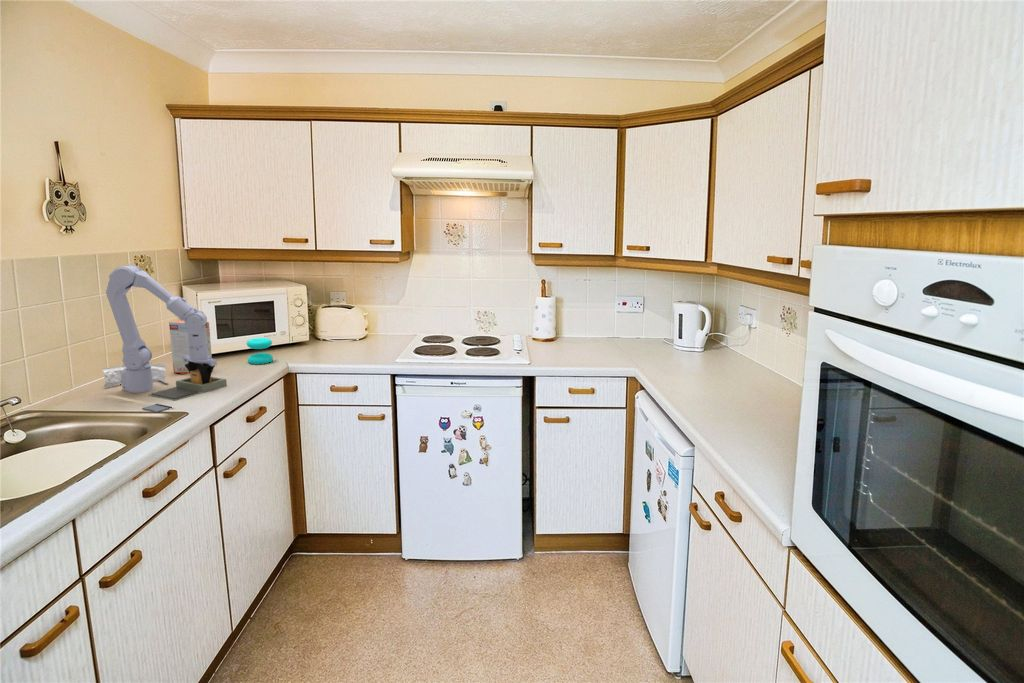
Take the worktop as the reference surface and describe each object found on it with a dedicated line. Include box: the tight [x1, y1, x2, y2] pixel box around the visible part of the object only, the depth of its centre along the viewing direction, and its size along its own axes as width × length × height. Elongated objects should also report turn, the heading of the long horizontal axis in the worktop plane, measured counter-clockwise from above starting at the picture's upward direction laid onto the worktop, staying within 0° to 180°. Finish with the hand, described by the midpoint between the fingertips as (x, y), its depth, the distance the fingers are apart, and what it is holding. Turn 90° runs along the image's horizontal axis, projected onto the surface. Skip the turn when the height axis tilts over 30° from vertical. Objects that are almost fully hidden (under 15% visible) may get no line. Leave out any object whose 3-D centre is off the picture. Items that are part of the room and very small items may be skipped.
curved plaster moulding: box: [101, 363, 169, 389], centre depth 207 cm, size 11×20×8 cm, turn 121°
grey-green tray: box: [148, 376, 228, 402], centre depth 201 cm, size 13×20×4 cm, turn 157°
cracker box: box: [168, 319, 214, 375], centre depth 225 cm, size 14×6×21 cm, turn 74°
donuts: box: [246, 337, 274, 365], centre depth 246 cm, size 10×10×10 cm
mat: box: [141, 403, 173, 413], centre depth 185 cm, size 7×8×1 cm
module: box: [189, 369, 212, 385], centre depth 205 cm, size 4×5×7 cm
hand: (201, 383), depth 206 cm, fingers closed on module, 4 cm apart
